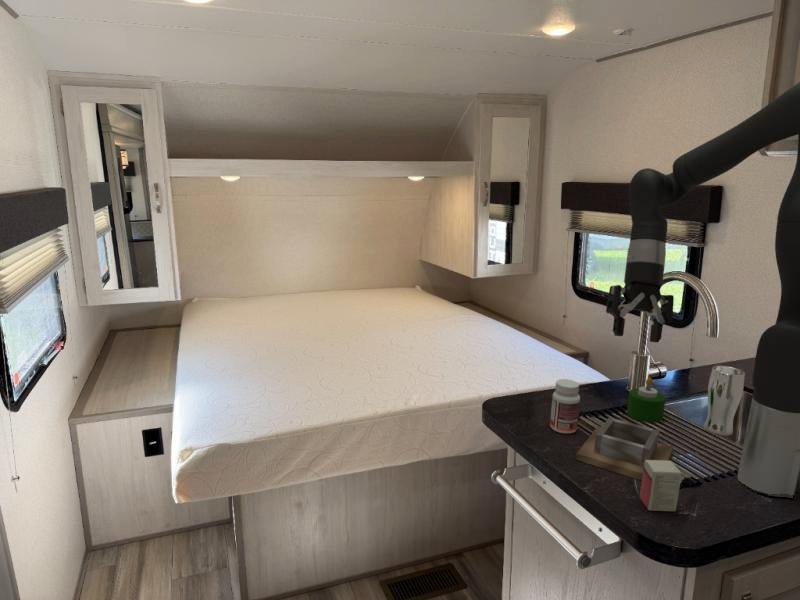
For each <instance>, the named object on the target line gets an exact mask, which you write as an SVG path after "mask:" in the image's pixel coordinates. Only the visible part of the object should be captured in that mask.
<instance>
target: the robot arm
mask: <svg viewBox="0 0 800 600" xmlns="http://www.w3.org/2000/svg"><path fill="white" fill-rule="evenodd" d="M794 136H797V156H796V162H795V167H794V171H793V173H792V176H791V179H790V181H789V182H788V185H787V188H786V190H785V192H784V195H783V196H782V197H783V198H782V200H781V202H780V205H779V209H778V214H777V218H776V219H777V220H776V221H777V222H776V227H775V229H776V230H775V238H774V242H775V243H774V255H775V259H776V261H775V262H776V266H777V270H778V274H779V280H780V289H781V290H780V291H781V292H780V301H779V308H778V311H777V317H776V320H775V324H774V325H771V326H770V327H769V326H768V328H767V329H765V330H764V331H763V333H762V334H761V336H760V338H759V341H758V344H757V347H756V353H755V358H754V366H753V371H752V372H753V373H752V379H751V380H752V388H753V390H752V391H753V392H752V399H751V404H750V409H749V415H748V419H747V425H746V429H745V434H744V436H745V437H744V440H743V445H742V452H741V456H740V462H739V465H738V472H737V481H738V482H739V481H740V482H741V483H742V484H745V485H746V486H748V487H750V488H752V489H754V490H757V491H761V492H764V493H768V494H777V495H779V494H789V495H794V496H795V492H796V487H797V482H798V478H799V473H800V81H799V82H797V83H796V84H795V85H793V86H792V87H790V88H788V89H787V90H786V91H784V92H783V93H782V94H780V95H779V96H777V97H776V98H775V99H773V100H772V101H771V102H770V103H768V104H767V105H765V106H764V107H763V108H761V109H760V110H758V111H757V112H755V113H754V114H753V115H751V116H749V117H748V118H746V119H745V120H743V121H742V122H740V123H739V124H737V125H735V126H734V127H731V128H729V129H728V130H726V131H724V132H723V133H721V134H719V135H717V136H716V137H714V138H711V139H710V140H707V141H706V142H704V143H703V144H701V145H698V146H696V147H695V148H692V149H691V150H690V151H687V152H685V153H684V154H682V155H680V156H679V157H677V158H676V159H675V160H674V161H673V163H672V171H671V173H668V174H664V172H663V173H662V172H660V171H658V170H656V169H653V168H648V167H647V168H642V169H639V171H637V172H636V173H635V174H634V175H633V176H632V178H631V180H630V182H629V186H628V190H627V191H628V192H627V193H628V203H629V204H628V205H629V211H630V212H629V213H630V217H631V223H632V224H631V231H630V240H629V244H628V249H627V254H626V263H625V270H624V271H625V272H624V279H623V280H624V281H623V282H624V287H622V285H620V284H617V285H616V284H615V285H611V286H610V287H609V291H608V292H609V293H608V297H607V302H606V307H605V308H606V309H605V312H606V314H610V315H611V316H613V326H612V331H613V332H612V333H613V334H614V336H616V337H623V336H624V333H625V332H624V331H625V323H626V318H625V317H626V316H627V314H628V313H630V312H631V311H639V312H644V313H645V314H646V315H647V316H648V317H649V318H650V320H651V322H652V324H651V326H650V335H649V342H650V343H651V342H652V343H659V342H660V341H661V339H662V335H663V326H664V325H665V324H671V323H672V322H673V318H674V317H673V316H674V315H673V314H674V299H675V298H674V295H673V294H666V295H665V294H661V288H662V286H663V284H664V274H665V266H666V254H667V253H666V252H667V251H666V246H667V245H666V243H667V234H668V226H669V225H668V220H667V218H666V217H665V216H664V215H663V214H662V213H661V211H660V209H662V208H666V207H669V206H672V205H674V204H676V203H677V202H678V201H680V200H681V199H682V198H684V197H686V195H688V194H689V193H690V192H691V191H692V190H694V188H696V187H698V186H700V185H702V184H705V183H706V182H709V181H710V180H713V179H715V178H717V177H719V176H721V175H723V174H726V173H727V172H729V171H731V170H732V169H734V168H735V167H736V166H738V165H739V164H741V163H742V162H744V160H746V159H748V158H749V157H750V156H751V155H753V154H755V153H756V152H758V151H759V152H760V150H762V149H764V148H766V147H768V146H771V145H772V144H774V143H775V144H776V143H777V142H780V141H784V140H785V139H788V138H791V137H794ZM622 296H623V298H624V300H623V301H622V302H621V301H620V300H621V297H622ZM620 302H621V303H620ZM659 304H660V305H659ZM740 482H739V483H740ZM741 483H740V484H741ZM742 484H741V485H742Z"/></svg>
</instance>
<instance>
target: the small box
mask: <svg viewBox="0 0 800 600" xmlns="http://www.w3.org/2000/svg"><path fill="white" fill-rule="evenodd" d="M682 475H683V473H682V471H681V470H680V469H679V468H678V466H677V465H676V464H675V463H674V462H673V461H672V460H669V461H665V460H645V462H644V470H643V477H642V480H641V484H640V485H641V486H640V490H639V491H640V493H639V499H640V501H642V504H643V505H644V506H645V508H646V509H647V510H648V511H655V512H656V511H658V512H676V510H677V505H678V500H679V499H678V498H679V493H680V487H681V486H680V485H681V481H682Z"/></svg>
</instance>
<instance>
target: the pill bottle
mask: <svg viewBox="0 0 800 600" xmlns="http://www.w3.org/2000/svg"><path fill="white" fill-rule="evenodd" d="M554 387H555V391H554V392H553V393H552V397H551V398H552V399H551V410H550V420H549V426H550V428H551V429H552V430H553V431H555V432H557V433H560V434H573V433H575V432H576V431H577V429H578V425H579V424H578V423H579V414H580V403H581V396H580V395H579V392H580V384H579V383H578V381H575V380H573V379H568V378H564V379H563V378H561V379H557V380H556V382H555V386H554Z"/></svg>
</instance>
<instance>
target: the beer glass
mask: <svg viewBox="0 0 800 600" xmlns="http://www.w3.org/2000/svg"><path fill="white" fill-rule="evenodd" d="M711 368H712V370H711V373H710V377H709V380H708V385H707V406H708V407H707V408H708V410H707V416H706V419H705V421H704V424H703V429H705V430H706V431H707V432H709V433H710V434H713V435H717V436H721V437H722V436H723V437H728V436H729V437H730V436H732V435H733V434H734V425H733V424H734V418H735V415H736V412H737V410H738V407H739V404H740V402H741V400H742V396H743V392H744V386H745V385H744V384H745V377H746V376H745V375H746V373H745V371H743V370H742V369H739V368H736V367H733V366H728V365H713V367H711Z"/></svg>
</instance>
